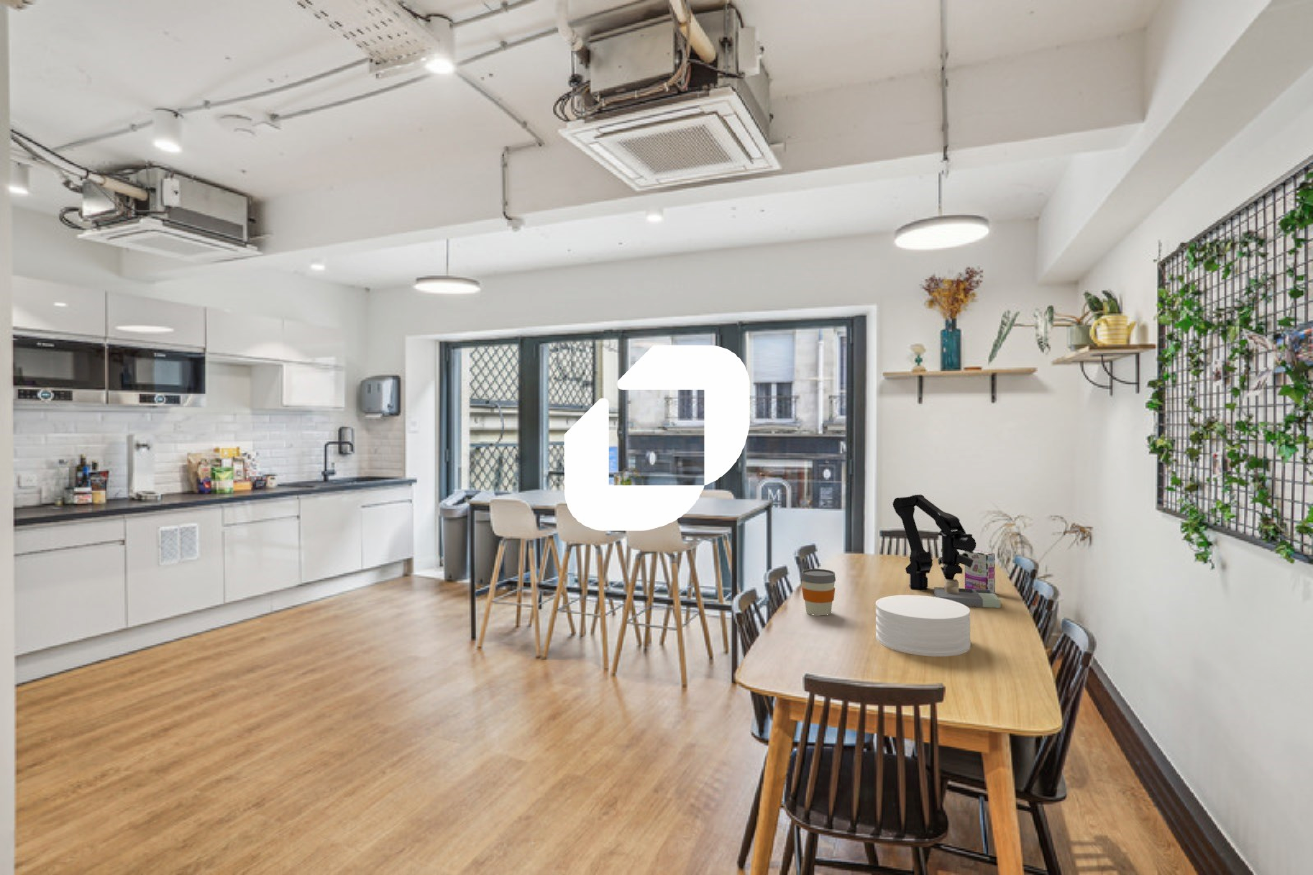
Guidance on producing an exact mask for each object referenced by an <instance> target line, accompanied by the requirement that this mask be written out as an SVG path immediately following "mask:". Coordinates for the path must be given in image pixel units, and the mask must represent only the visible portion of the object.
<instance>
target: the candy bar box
mask: <svg viewBox="0 0 1313 875" xmlns="http://www.w3.org/2000/svg"><path fill="white" fill-rule="evenodd" d="M964 553H967V554H968V557H970V558H972V559H973V560H974V561H973V563H972V566H971V568H970V567H968V566H966V565H964V589H986V590H991V591H992V592H993V593H994V594H996V554H995V553H994V552H988V551H983V550H977V549H975V550H974V551H972V552H968V551H964Z"/></svg>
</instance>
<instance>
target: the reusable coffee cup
mask: <svg viewBox="0 0 1313 875" xmlns="http://www.w3.org/2000/svg"><path fill="white" fill-rule="evenodd" d="M800 580H801V583H802V586H801V590H802V598H803V600H804V605H805V613H806V612H807V613H806V614H808V615H810V614H814V615H827V614H830V615H831V614H832V607H833V602H834V601H835V600H834V599H835V592H836V587H835V584H836V572H835V571H833V570H829V569H826V568H825V569H823V568H822V569H821V568H809V569H803V570H801V576H800ZM814 615H813V616H814ZM827 616H828V615H827Z"/></svg>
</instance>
